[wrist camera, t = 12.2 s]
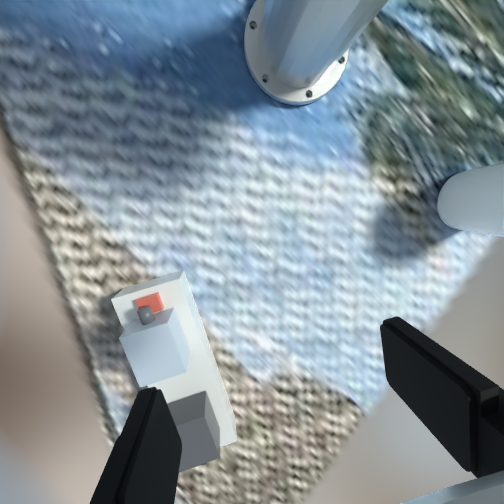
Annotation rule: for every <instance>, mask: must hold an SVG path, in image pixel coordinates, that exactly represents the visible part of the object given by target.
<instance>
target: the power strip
mask: <svg viewBox="0 0 504 504" xmlns="http://www.w3.org/2000/svg"><path fill="white" fill-rule="evenodd" d="M111 301H112V303H113V306H114V308H115V310H116V313H117V315H118V318H119V320H120V322H121V325H122V327H123V329H124V331H125V329H126V328H127V327H128V325H129V324H130V323H131V321H132V320H136V319H139V316H138V313H137V310H138V309H139V308H141V307H144V306H147V305H150V307H151V309H152V312H153V314H155V313H158V312H161V311H164V310H168V309H171V308H175V311H176V314H177V316H178V319H179V322H180V325H181V327H182V330H183V333H184V335H185V338H186V341H187V344H188V346H189V349H190V356H189V361H188V367H187V372H186V373H183V374H180V375H177V376H174V377H171V378H168V379H165V380H162V381H159V382H156V383H153V384H150V385H147V386H148V388H150V387H156V388H157V390H158V389H161V390H162V392H163V395H164V397H165V400H166V402H167V404H169V403H172V402H174V401H177V400H180V399H183V398H186V397H189V396H192V395H195V394H198V393H201V392H204V391H206V392H207V395H208V397H209V400H210V403H211V406H212V408H213V411H214V414H215V416H216V419H217V422H218V425H219V427H220V447H222V446H225V445H227V444H230V443H233V442H236V441H237V435H236V423H235V415H234V413H233V410H232V407H231V404H230V401H229V398H228V395H227V392H226V390H225V387H224V384H223V381H222V378H221V375H220V372H219V369H218V366H217V364H216V361H215V358H214V355H213V352H212V349H211V346H210V343H209V341H208V338H207V335H206V332H205V329H204V326H203V323H202V320H201V318H200V315H199V312H198V309H197V306H196V303H195V300H194V297H193V294H192V292H191V289H190V286H189V283H188V280H187V277H186V274H185V271H184V270H183V271H179V272H176V273H173V274H169V275H166V276H163V277H159V278H156V279H153V280H149V281H146V282H143V283H139V284H136V285H133V286H129V287H126V288H123V289H122V290H121V291H120V292H119V293H117V294H116V295H115V296H114V297H113V298H112V299H111Z"/></svg>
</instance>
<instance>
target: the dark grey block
mask: <svg viewBox="0 0 504 504" xmlns="http://www.w3.org/2000/svg"><path fill="white" fill-rule="evenodd" d="M167 405H168V408H169V410H170V413H171V415H172V418H173V420H174V423H175V425H176V428H177V430H178V433H179V435H180V438H181V441H182V454H181V460H180V467H179V473H180V472H182V471H185V470H188V469H191V468H193V467H196V466H199V465H205V464H206V463H207V462H210V461H213V460H215V459H218V458H220V427H219V425H218V422H217V419H216V416H215V414H214V411H213V408H212V406H211V403H210V400H209V397H208V395H207V392H206V391H204V392H201V393H198V394H195V395H192V396H189V397H186V398H183V399H180V400H177V401H174V402H172V403H169V404H167Z"/></svg>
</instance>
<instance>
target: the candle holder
mask: <svg viewBox="0 0 504 504" xmlns="http://www.w3.org/2000/svg"><path fill="white" fill-rule="evenodd" d="M437 208H438V213H439V216H440V218H441V219H442V221H443V222H444V223H445V224H446V225H448V226H449V227H451V228H454V229H459V230H465V231H471V232H477V233H483V234H489V235H496V236H502V237H504V163H500V164H495V165H490V166H485V167H480V168H476V169H471V170H467V171H463V172H460V173H457V174H455V175H453V176H452V177H451V178H449V179H448V180H447V181H446V182H445V184H444V185H443V187H442V188H441V190H440V193H439V196H438V201H437Z"/></svg>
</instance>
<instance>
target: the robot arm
mask: <svg viewBox="0 0 504 504" xmlns="http://www.w3.org/2000/svg"><path fill="white" fill-rule="evenodd" d="M388 1H389V0H256V2H255V3H254V5H253V7H252V8H251V10H250V13H249V16H248V18H247V22H246V27H245V34H244V53H245V58H246V62H247V66H248V68H249V70H250V73H251V75H252V77H253V78H254V80H255V81H256V83H257V84H258V86H259V87H260V88H261V89H262V90H263V91H264V92H265V93H266V94H268V95H269V96H270V97H272V98H273V99H275V100H277V101H279V102H281V103H285V104H289V105H305V104H310V103H312V102H315V101H317V100H319V99H321V98H322V97H323V96H325V95H326V94H327V93H328V92H329V91H330V90H331V89H332V88H333V87H334V86H335V85H336V83H337V82H338V81H339V80H340V78H341V76H342V74H343V72H344V70H345V67H346V64H347V61H348V55H349V48H350V46H351V45H352V44H353V43H354V42H355V40H356V39H357V38H358V37H359V36H360V34H361V33H362V32H363V31H364V29H365V28H366V27H367V26H368V25H369V23H370V22H371V21H372V20H373V19H374V17H375V16H376V15H377V14H378V13H379V11H380V10H381V9H382V8H383V7H384V5H385V4H386V3H387V2H388ZM252 29H254V30H252ZM263 80H265V81H266V83H265V82H263ZM306 95H307V96H308V98H307V97H306ZM380 331H381V339H382V347H383V355H384V363H385V372H386V378H387V381H388V383H389V385H390V386H391V387H392V388H393V390H394V391H395V392H396V393H397V394H398V395H399V396H400V398H401V399H402V400H403V401H404V402H405V403H406V404H407V405H408V407H409V408H410V409H411V410H412V411H413V412H414V413H415V415H416V416H417V417H418V418H419V419H420V420H421V421H422V422H423V424H424V425H425V426H426V427H427V428H428V429H429V430H430V432H431V433H432V434H433V435H434V436H435V437H436V438H437V439H438V441H440V443H441V444H442V445H443V446H444V447H445V449H446V450H447V451H448V452H449V453H450V454H451V455H452V457H453V458H454V459H455V460H456V461H457V462H458V463H459V464H460V466H461V467H462V468H463V469H465V470H466V471H468V472H470V471H471V472H472V473H473V474H474V475H475V476H476V477H477V479H474V480H471V481H467V482H464V483H461V484H457V485H454V486H451V487H448V488H445V489H442V490H439V491H436V492H433V493H430V494H427V495H424V496H421V497H418V498H415V499H412V500H409V501H406V502H403V503H399V504H504V390H503V389H502V388H500V387H499V386H498V385H497V384H495V383H494V382H493V381H491V380H490V379H488V378H487V377H485V376H484V375H482V374H481V373H479V372H478V371H477V370H475V369H474V368H472V367H471V366H469V365H468V364H466V363H465V362H464V361H462V360H461V359H459V358H458V357H456V356H455V355H453V354H452V353H451V352H449V351H448V350H446V349H445V348H443V347H442V346H440V345H439V344H438V343H436V342H435V341H433V340H431V339H430V338H429V337H427V336H426V335H425V334H423V333H422V332H420V331H419V330H417V329H416V328H414V327H413V326H412V325H410V324H409V323H407V322H406V321H404V320H403V319H401V318H400V317H393V318H390V319H386V320H384V321H383V324H382V325H381V326H380ZM181 454H182V441H181V438H180V435H179V433H178V430H177V428H176V425H175V423H174V420H173V418H172V415H171V413H170V410H169V408H168V405H167V402H166V400H165V397H164V395H163V392H162V390H161V389H158V390H157V388H156V387H150V388H147V389H144V390H140V391H139V392H138V394H137V397H136V399H135V402H134V404H133V406H132V409H131V411H130V414H129V416H128V418H127V421H126V423H125V426H124V428H123V431H122V433H121V435H120V436H119V437H118V439H117V440H116V442H115V445H114V447H113V449H112V452H111V454H110V456H109V459H108V461H107V463H106V466H105V468H104V471H103V473H102V475H101V478H100V480H99V482H98V485H97V487H96V489H95V492H94V494H93V497H92V499H91V501H90V504H174V500H175V493H176V487H177V480H178V474H179V467H180V460H181Z"/></svg>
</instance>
